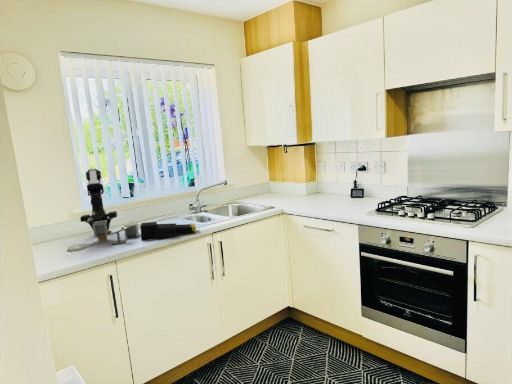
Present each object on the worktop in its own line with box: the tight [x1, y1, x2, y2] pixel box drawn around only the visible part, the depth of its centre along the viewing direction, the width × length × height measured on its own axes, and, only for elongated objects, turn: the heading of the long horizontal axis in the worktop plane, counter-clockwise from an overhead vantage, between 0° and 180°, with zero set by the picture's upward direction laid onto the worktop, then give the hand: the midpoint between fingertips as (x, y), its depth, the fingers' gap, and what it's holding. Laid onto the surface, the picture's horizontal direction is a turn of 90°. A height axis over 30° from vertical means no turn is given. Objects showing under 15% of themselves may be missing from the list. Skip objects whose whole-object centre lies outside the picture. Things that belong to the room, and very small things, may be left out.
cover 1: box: [92, 220, 110, 238], centre depth 207 cm, size 7×7×7 cm
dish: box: [66, 243, 87, 252], centre depth 197 cm, size 9×9×1 cm
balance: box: [105, 226, 130, 246], centre depth 201 cm, size 5×13×8 cm, turn 104°
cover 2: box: [123, 222, 140, 240], centre depth 213 cm, size 7×7×7 cm
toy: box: [139, 221, 197, 241], centre depth 208 cm, size 16×8×30 cm
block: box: [97, 233, 108, 243], centre depth 209 cm, size 4×4×4 cm
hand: (101, 231), depth 208 cm, fingers closed on cover 1, 7 cm apart
